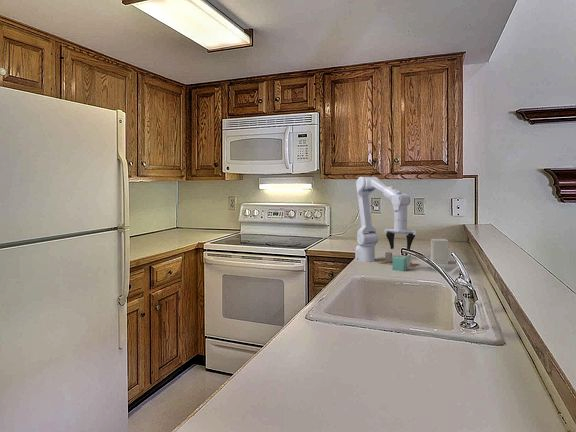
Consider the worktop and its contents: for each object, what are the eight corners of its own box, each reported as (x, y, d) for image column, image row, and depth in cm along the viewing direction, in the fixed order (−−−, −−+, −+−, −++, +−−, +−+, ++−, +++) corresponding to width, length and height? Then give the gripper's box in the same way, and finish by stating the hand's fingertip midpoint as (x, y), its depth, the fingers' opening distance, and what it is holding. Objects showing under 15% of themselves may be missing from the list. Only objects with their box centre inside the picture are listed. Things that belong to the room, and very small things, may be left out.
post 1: (385, 262, 197) (385, 252, 197) (387, 261, 199) (387, 252, 199) (390, 263, 195) (390, 253, 195) (392, 262, 198) (392, 252, 197)
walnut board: (377, 265, 196) (377, 263, 196) (384, 262, 203) (384, 260, 203) (413, 269, 186) (413, 267, 186) (419, 266, 193) (419, 264, 193)
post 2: (404, 265, 191) (405, 254, 191) (406, 264, 193) (406, 254, 193) (410, 265, 190) (410, 255, 189) (412, 264, 192) (412, 254, 191)
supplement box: (448, 266, 191) (448, 240, 190) (432, 266, 193) (432, 240, 192) (445, 263, 199) (446, 238, 198) (430, 262, 200) (430, 238, 199)
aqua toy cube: (392, 272, 181) (392, 257, 181) (396, 269, 185) (396, 256, 185) (403, 273, 178) (403, 259, 178) (407, 271, 182) (407, 257, 182)
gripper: (382, 220, 181) (381, 249, 182) (413, 221, 172) (413, 252, 174) (387, 218, 186) (387, 247, 188) (418, 220, 178) (418, 249, 179)
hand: (400, 249), depth 181 cm, fingers open, 7 cm apart
